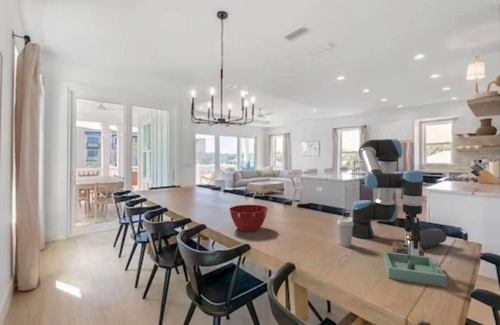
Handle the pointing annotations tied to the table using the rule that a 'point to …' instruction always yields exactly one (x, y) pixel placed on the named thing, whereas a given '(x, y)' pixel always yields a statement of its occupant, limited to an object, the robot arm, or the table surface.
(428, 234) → the bluetooth speaker
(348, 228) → the coffee cup
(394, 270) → the parts tray
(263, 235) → the table surface
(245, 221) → the mixing bowl
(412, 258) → the pin
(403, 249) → the wooden socket block
